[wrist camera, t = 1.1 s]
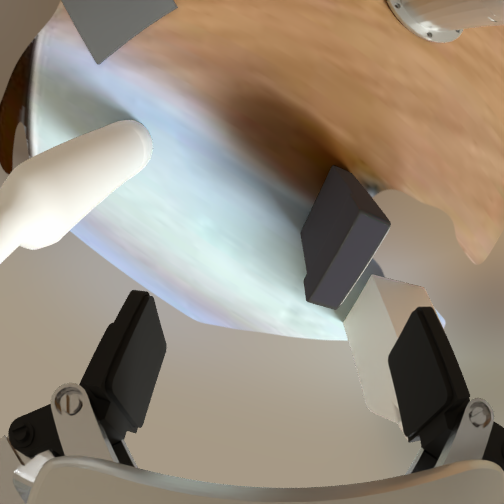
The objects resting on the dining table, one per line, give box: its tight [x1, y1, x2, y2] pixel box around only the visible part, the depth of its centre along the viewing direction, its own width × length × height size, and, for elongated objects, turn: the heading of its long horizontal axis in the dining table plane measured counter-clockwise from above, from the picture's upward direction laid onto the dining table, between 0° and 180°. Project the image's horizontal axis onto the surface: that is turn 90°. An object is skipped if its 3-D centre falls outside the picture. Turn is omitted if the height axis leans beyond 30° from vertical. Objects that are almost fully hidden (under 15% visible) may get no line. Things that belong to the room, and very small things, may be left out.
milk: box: [343, 274, 444, 440], centre depth 37 cm, size 12×12×26 cm
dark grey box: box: [301, 165, 391, 310], centre depth 32 cm, size 11×4×15 cm, turn 161°
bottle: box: [0, 120, 153, 264], centre depth 23 cm, size 8×8×30 cm
